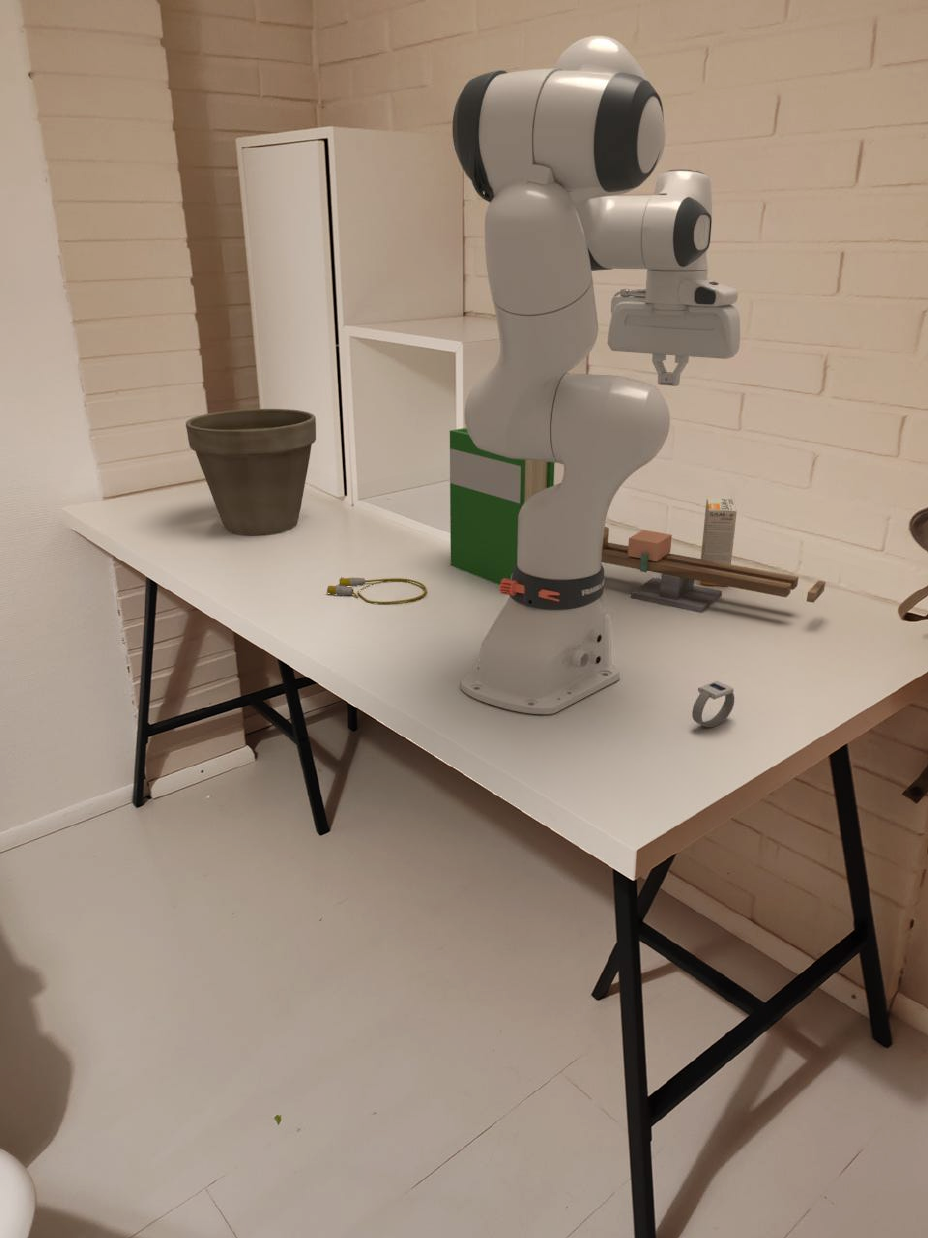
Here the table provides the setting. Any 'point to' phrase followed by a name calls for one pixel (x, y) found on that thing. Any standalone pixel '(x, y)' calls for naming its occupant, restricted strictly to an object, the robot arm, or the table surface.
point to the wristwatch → (714, 692)
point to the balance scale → (698, 578)
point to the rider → (649, 545)
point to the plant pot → (255, 465)
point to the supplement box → (718, 531)
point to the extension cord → (360, 581)
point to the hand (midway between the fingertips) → (668, 384)
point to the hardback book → (489, 506)
